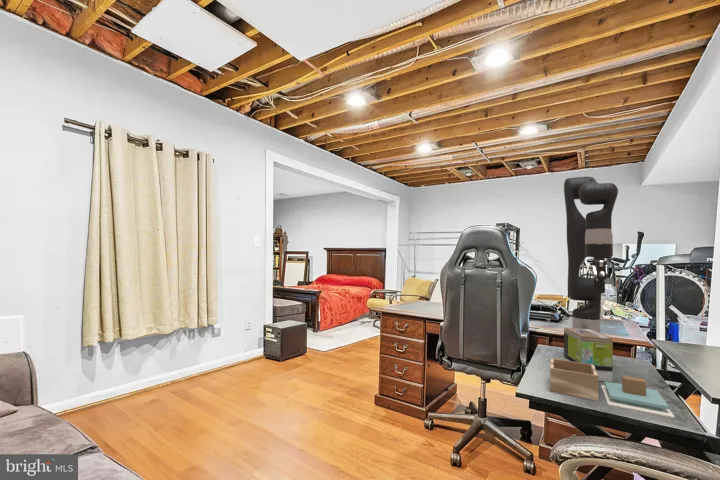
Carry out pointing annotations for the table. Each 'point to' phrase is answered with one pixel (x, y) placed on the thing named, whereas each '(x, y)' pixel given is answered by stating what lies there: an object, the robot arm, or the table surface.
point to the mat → (636, 406)
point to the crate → (574, 379)
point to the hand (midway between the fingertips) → (599, 291)
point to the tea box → (590, 350)
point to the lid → (635, 393)
